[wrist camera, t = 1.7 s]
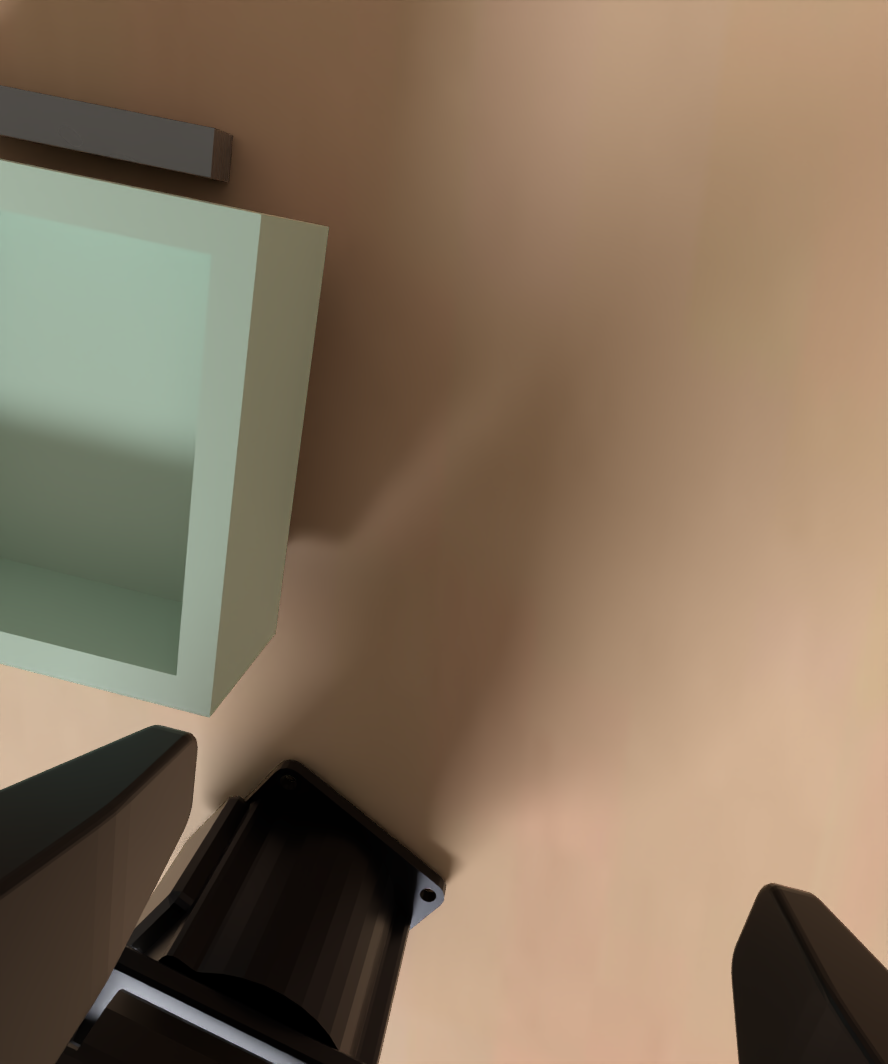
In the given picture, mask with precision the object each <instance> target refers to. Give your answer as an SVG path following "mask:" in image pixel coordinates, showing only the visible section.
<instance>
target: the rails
mask: <svg viewBox="0 0 888 1064" xmlns="http://www.w3.org/2000/svg"><path fill="white" fill-rule="evenodd" d="M0 135H1V136H5V137H10V138H15V139H20V140H25V141H30V142H35V143H40V144H44V145H49V146H54V147H59V148H64V149H69V150H74V151H79V152H83V153H88V154H93V155H98V156H103V157H108V158H113V159H118V160H122V161H127V162H132V163H137V164H142V165H147V166H152V167H157V168H161V169H166V170H171V171H176V172H181V173H186V174H191V175H196V176H200V177H205V178H210V179H215V180H220V181H225V182H229V173H230V162H231V151H232V139H233V136H232V135H230V134H227V133H225V132H223V131H220V130H218V129H215V128H211V127H206V126H201V125H196V124H191V123H186V122H181V121H176V120H171V119H166V118H161V117H156V116H151V115H146V114H141V113H136V112H131V111H126V110H121V109H116V108H111V107H106V106H101V105H96V104H91V103H86V102H81V101H76V100H71V99H66V98H61V97H56V96H51V95H46V94H41V93H36V92H31V91H26V90H21V89H16V88H11V87H6V86H1V85H0Z"/></svg>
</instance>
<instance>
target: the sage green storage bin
mask: <svg viewBox="0 0 888 1064" xmlns="http://www.w3.org/2000/svg"><path fill="white" fill-rule="evenodd" d="M328 232H329V227H328V226H323V225H319V224H314V223H309V222H304V221H299V220H294V219H290V218H285V217H280V216H275V215H270V214H265V213H261V212H256V211H251V210H246V209H241V208H237V207H232V206H227V205H222V204H217V203H212V202H208V201H203V200H198V199H193V198H188V197H184V196H179V195H174V194H169V193H164V192H159V191H155V190H150V189H145V188H140V187H135V186H131V185H126V184H121V183H116V182H111V181H106V180H102V179H97V178H92V177H87V176H82V175H77V174H73V173H68V172H63V171H58V170H53V169H49V168H44V167H39V166H34V165H29V164H24V163H20V162H15V161H10V160H5V159H0V664H3V665H7V666H11V667H15V668H19V669H23V670H27V671H31V672H34V673H38V674H42V675H46V676H50V677H54V678H58V679H62V680H66V681H69V682H73V683H77V684H81V685H85V686H89V687H93V688H97V689H101V690H104V691H108V692H112V693H116V694H120V695H124V696H128V697H132V698H136V699H140V700H143V701H147V702H151V703H155V704H159V705H163V706H167V707H171V708H175V709H178V710H182V711H186V712H190V713H194V714H198V715H202V716H206V717H210V716H211V715H212V714H213V713H214V711H215V710H216V709H217V708H218V706H219V705H220V704H221V702H222V701H223V700H224V699H225V697H226V696H227V695H228V693H229V692H230V691H231V690H232V688H233V687H234V686H235V685H236V683H237V682H238V681H239V679H240V678H241V677H242V676H243V674H244V673H245V672H246V671H247V669H248V668H249V667H250V665H251V664H252V663H253V662H254V660H255V659H256V658H257V656H258V655H259V654H260V653H261V651H262V650H263V649H264V648H265V646H266V645H267V644H268V642H269V641H270V640H271V639H272V637H273V636H274V635H275V634H276V626H277V619H278V611H279V603H280V596H281V588H282V581H283V573H284V565H285V558H286V550H287V543H288V535H289V528H290V520H291V512H292V505H293V497H294V490H295V482H296V474H297V467H298V459H299V452H300V444H301V437H302V429H303V421H304V414H305V406H306V399H307V391H308V384H309V376H310V368H311V361H312V353H313V346H314V338H315V330H316V323H317V315H318V308H319V300H320V293H321V285H322V277H323V270H324V262H325V255H326V247H327V239H328Z"/></svg>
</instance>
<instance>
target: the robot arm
mask: <svg viewBox="0 0 888 1064" xmlns="http://www.w3.org/2000/svg"><path fill="white" fill-rule="evenodd" d="M197 748H198V746H197V741H196V738H195V737H194V736H193V734H191V733H189V732H185V731H181V730H177V729H173V728H169V727H165V726H161V725H153V726H150V727H147V728H145V729H142V730H140V731H138V732H135V733H133V734H131V735H128V736H126V737H124V738H121V739H119V740H117V741H114V742H112V743H110V744H107V745H105V746H103V747H100V748H98V749H96V750H93V751H91V752H89V753H86V754H84V755H82V756H79V757H77V758H75V759H72V760H70V761H67V762H65V763H63V764H60V765H58V766H56V767H53V768H51V769H49V770H46V771H44V772H42V773H39V774H37V775H35V776H32V777H30V778H28V779H25V780H23V781H21V782H18V783H16V784H14V785H11V786H9V787H7V788H4V789H2V790H0V1064H378V1063H379V1059H380V1055H381V1050H382V1046H383V1042H384V1037H385V1033H386V1029H387V1024H388V1020H389V1016H390V1011H391V1007H392V1003H393V998H394V994H395V990H396V985H397V981H398V977H399V972H400V968H401V964H402V959H403V955H404V950H405V946H406V942H407V937H408V933H409V930H410V929H411V928H413V927H414V926H415V925H416V924H418V923H419V922H420V921H421V920H423V919H424V918H425V917H426V916H428V915H429V914H430V913H431V912H433V911H434V910H435V909H436V908H438V907H439V906H440V905H441V904H442V902H443V901H444V896H445V890H446V884H445V881H444V880H443V879H442V878H441V877H440V876H439V875H438V874H437V873H435V872H434V871H433V870H432V869H431V868H429V867H428V866H427V865H426V864H424V863H423V862H422V861H421V860H419V859H418V858H417V857H416V856H415V855H413V854H412V853H411V852H410V851H408V850H407V849H406V848H405V847H403V846H402V845H401V844H400V843H399V842H397V841H396V840H395V839H394V838H392V837H391V836H390V835H389V834H387V833H386V832H385V831H384V830H383V829H381V828H380V827H379V826H378V825H376V824H375V823H374V822H373V821H372V820H370V819H369V818H368V817H367V816H365V815H364V814H363V813H362V812H360V811H359V810H358V809H357V808H356V807H354V806H353V805H352V804H351V803H349V802H348V801H347V800H346V799H344V798H343V797H342V796H341V795H340V794H338V793H337V792H336V791H335V790H333V789H332V788H331V787H330V786H328V785H327V784H326V783H325V782H324V781H322V780H321V779H320V778H319V777H317V776H316V775H315V774H314V773H313V772H311V771H310V770H309V769H308V768H306V767H305V766H304V765H303V764H301V763H299V762H297V761H293V760H287V761H284V762H282V763H280V764H279V765H278V766H277V767H276V768H275V769H274V770H273V771H272V772H271V773H270V774H269V775H268V776H267V777H266V778H265V779H264V780H263V781H262V782H261V783H260V784H259V785H258V786H257V787H256V788H255V789H254V790H253V791H252V792H251V793H250V794H249V795H248V796H247V797H246V798H245V799H244V800H243V799H242V798H241V797H240V796H237V797H230V798H229V799H228V800H227V801H226V802H225V803H224V804H223V805H222V806H221V807H220V808H219V809H218V810H217V811H216V812H215V813H214V814H213V815H212V816H211V817H210V818H209V819H208V820H207V821H206V822H205V823H204V824H203V825H202V826H201V827H200V828H199V829H198V830H197V831H196V832H195V833H194V834H193V835H192V836H191V837H190V838H189V839H188V841H187V842H186V843H185V845H184V846H183V848H182V849H181V851H180V852H179V854H178V856H177V857H176V859H175V860H174V862H173V863H172V865H171V866H170V868H169V869H168V871H167V872H166V874H165V875H164V877H163V878H162V880H161V881H160V883H159V885H158V886H157V888H156V889H155V887H156V885H157V883H158V881H159V879H160V877H161V875H162V873H163V871H164V869H165V867H166V865H167V863H168V861H169V859H170V857H171V855H172V853H173V851H174V849H175V847H176V845H177V843H178V841H179V839H180V837H181V835H182V833H183V831H184V829H185V826H186V824H187V821H188V818H189V815H190V812H191V808H192V802H193V791H194V781H195V771H196V760H197ZM285 775H290V776H292V777H294V779H295V780H296V781H290V780H288V779H287V778H286V776H285ZM154 889H155V891H154ZM424 889H431V890H433V891H434V892H428V891H426V890H424ZM153 891H154V892H153ZM152 892H153V894H152ZM151 894H152V895H151ZM150 896H151V897H150ZM731 974H732V988H733V1000H734V1013H735V1025H736V1037H737V1049H738V1061H739V1064H888V970H887V969H886V968H885V967H884V966H883V965H882V963H881V962H880V961H879V960H878V959H877V958H876V957H875V956H874V955H873V954H872V953H871V952H870V951H869V950H868V949H867V948H866V947H865V946H864V945H863V944H862V943H861V942H860V941H859V940H858V939H857V938H856V937H855V936H854V935H853V933H852V932H851V931H850V930H849V929H848V928H847V927H846V926H845V925H844V924H843V923H842V922H841V921H840V920H839V919H838V918H837V917H836V916H835V915H834V914H833V913H832V912H831V911H830V910H829V909H828V908H827V907H826V906H825V904H824V903H823V902H822V901H821V900H819V899H818V898H817V897H816V896H815V895H813V894H811V893H809V892H806V891H803V890H799V889H795V888H791V887H787V886H783V885H779V884H775V883H770V884H767V885H765V886H764V887H763V888H762V889H761V890H760V891H759V893H758V895H757V897H756V899H755V902H754V904H753V906H752V909H751V911H750V913H749V916H748V918H747V920H746V923H745V925H744V927H743V930H742V932H741V934H740V937H739V939H738V941H737V943H736V946H735V949H734V953H733V958H732V970H731Z"/></svg>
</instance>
